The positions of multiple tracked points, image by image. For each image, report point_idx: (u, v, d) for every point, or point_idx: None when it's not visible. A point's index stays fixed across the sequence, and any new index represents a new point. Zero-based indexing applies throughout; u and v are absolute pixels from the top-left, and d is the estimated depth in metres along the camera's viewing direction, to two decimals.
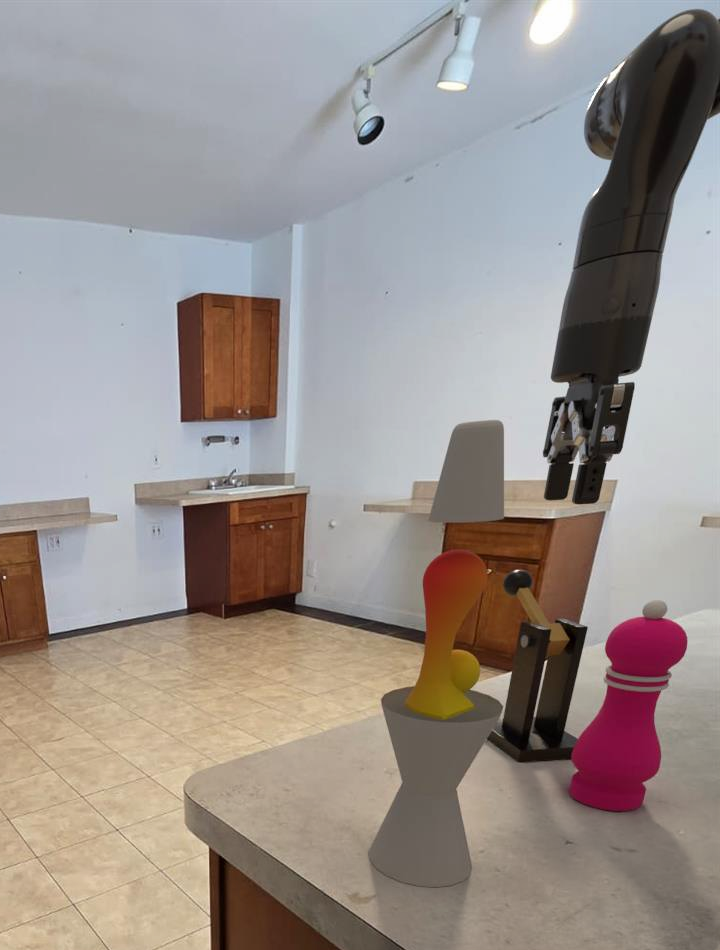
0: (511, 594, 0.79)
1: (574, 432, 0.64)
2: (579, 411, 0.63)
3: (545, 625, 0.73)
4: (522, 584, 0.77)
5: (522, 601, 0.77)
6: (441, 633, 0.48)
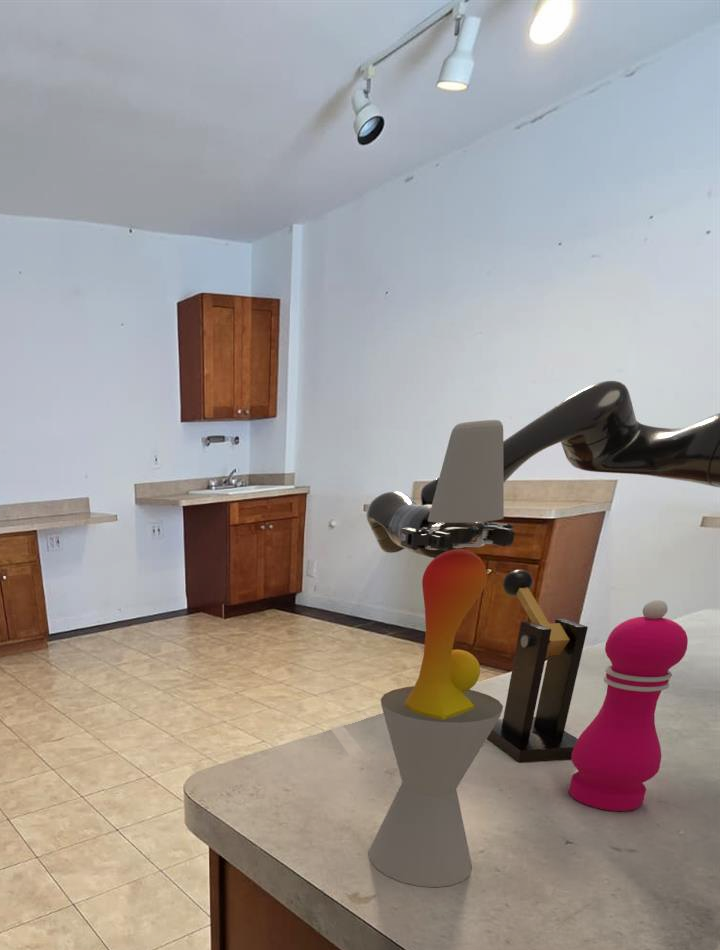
0: (511, 594, 0.79)
1: None
2: None
3: (545, 625, 0.73)
4: (522, 584, 0.77)
5: (522, 601, 0.77)
6: (441, 633, 0.48)
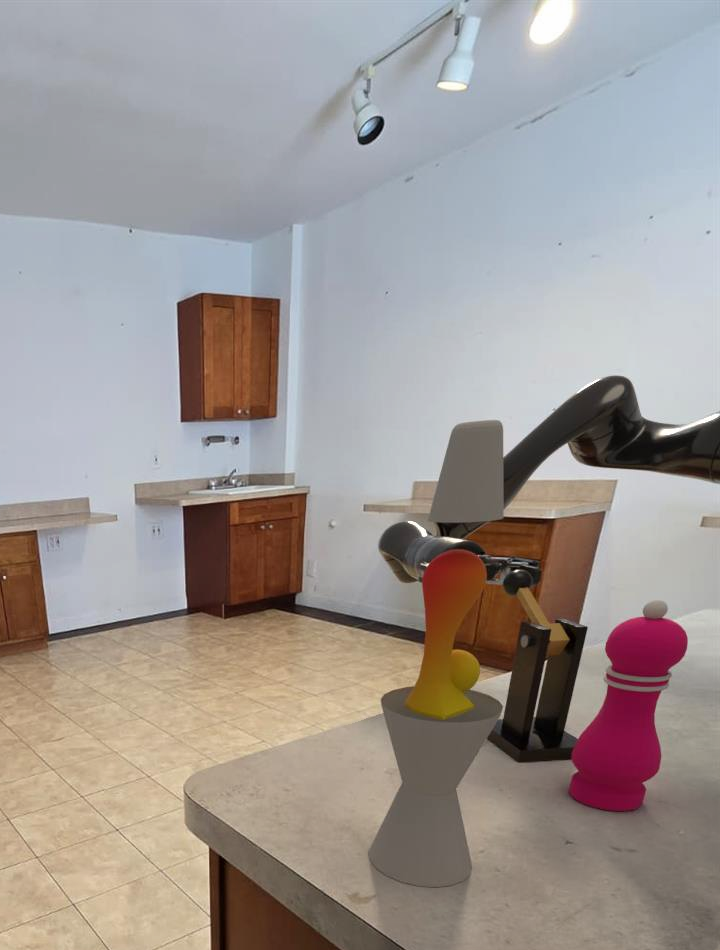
0: (511, 594, 0.79)
1: None
2: None
3: (545, 625, 0.73)
4: (522, 584, 0.77)
5: (522, 601, 0.77)
6: (441, 633, 0.48)
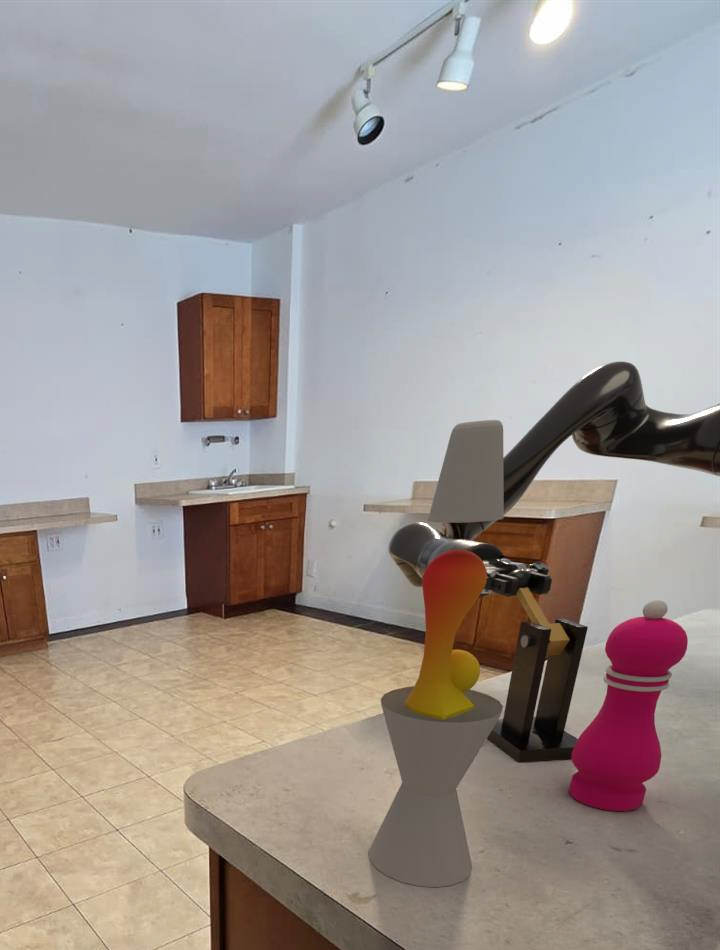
0: None
1: None
2: None
3: (545, 625, 0.73)
4: (522, 584, 0.77)
5: (522, 601, 0.77)
6: (441, 633, 0.48)
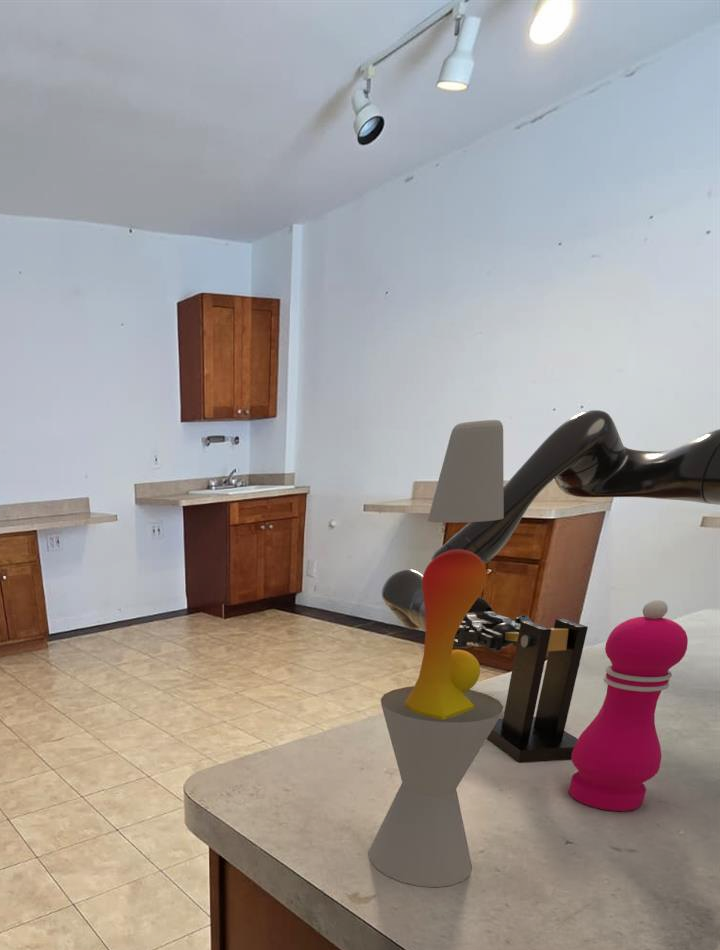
0: None
1: None
2: None
3: None
4: (507, 629, 0.81)
5: (512, 637, 0.80)
6: (441, 633, 0.48)
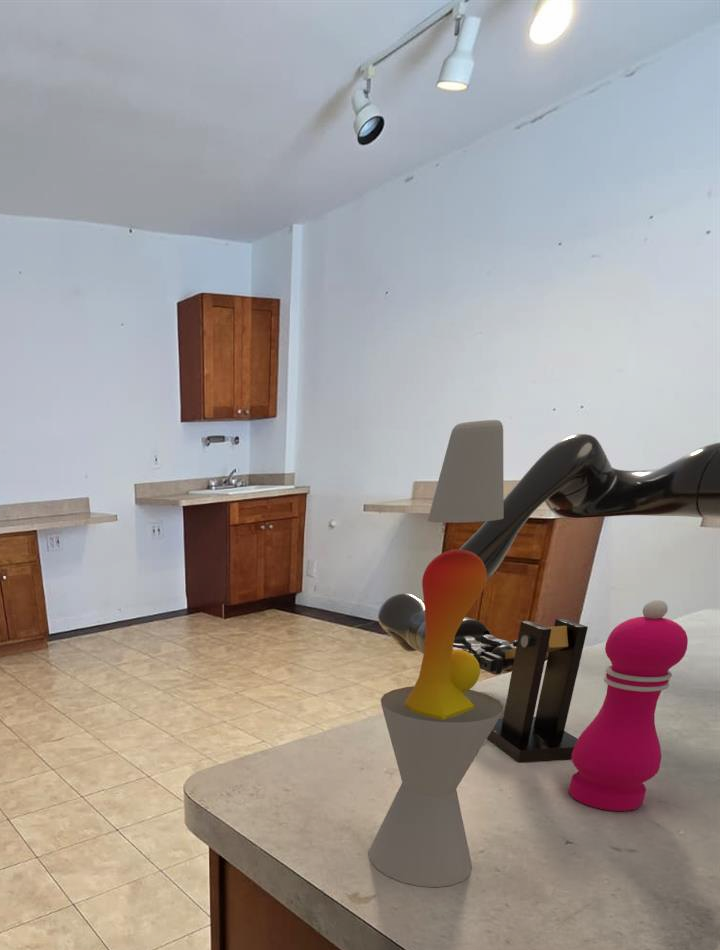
0: None
1: None
2: None
3: None
4: (506, 649, 0.82)
5: (512, 653, 0.80)
6: (441, 633, 0.48)
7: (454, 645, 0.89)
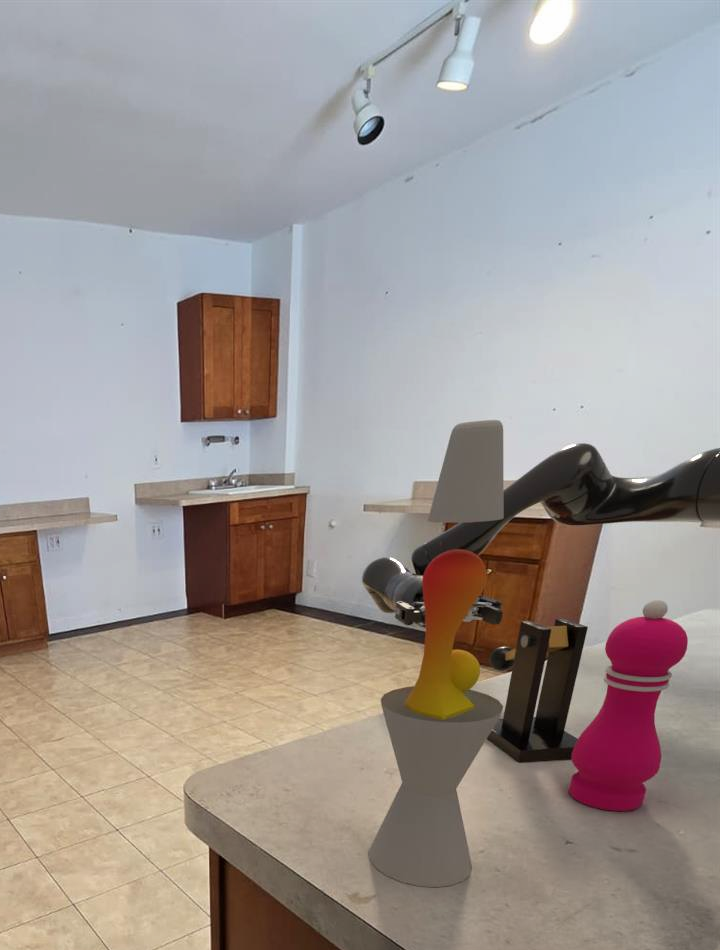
0: (501, 663, 0.82)
1: None
2: None
3: None
4: (506, 650, 0.82)
5: (512, 654, 0.80)
6: (441, 633, 0.48)
7: (418, 604, 0.99)
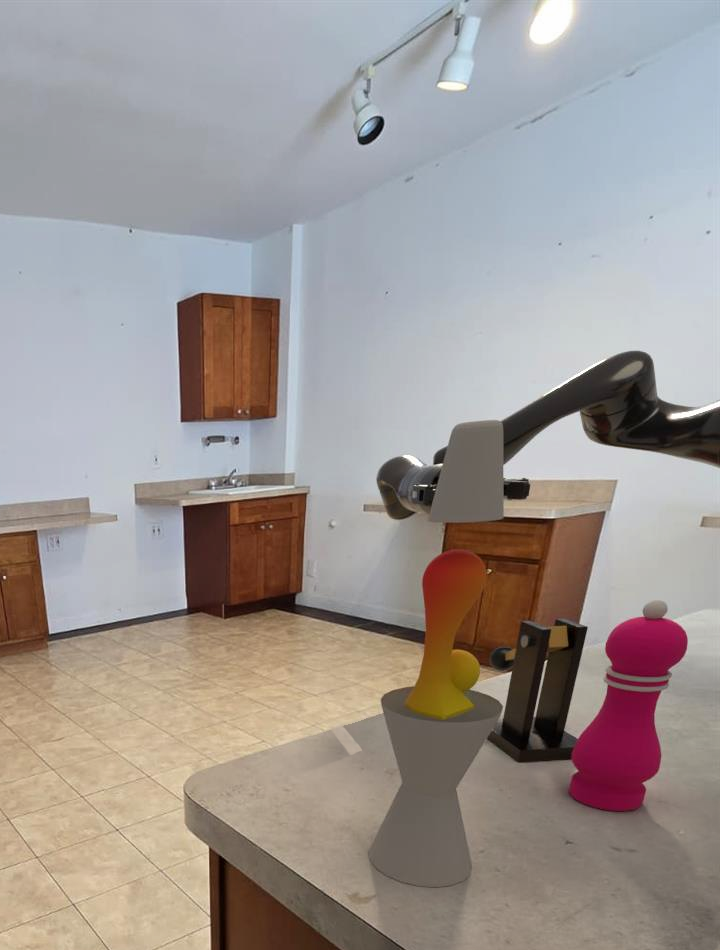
0: (501, 663, 0.82)
1: None
2: None
3: None
4: (506, 650, 0.82)
5: (512, 654, 0.80)
6: (441, 633, 0.48)
7: None
